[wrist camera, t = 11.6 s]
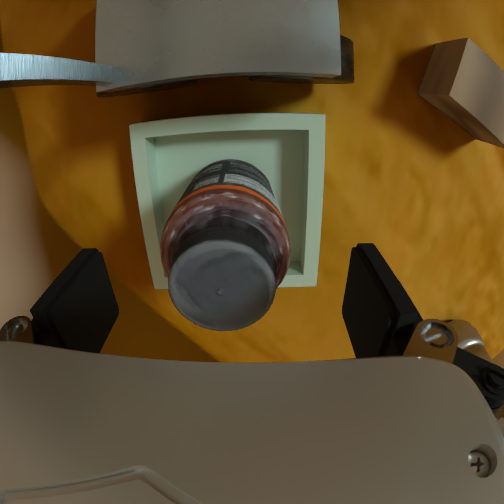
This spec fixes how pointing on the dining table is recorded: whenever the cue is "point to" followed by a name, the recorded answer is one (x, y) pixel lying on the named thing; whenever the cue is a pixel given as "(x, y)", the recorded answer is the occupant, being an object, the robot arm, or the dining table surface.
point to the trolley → (197, 46)
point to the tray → (240, 148)
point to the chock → (466, 89)
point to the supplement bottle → (225, 247)
